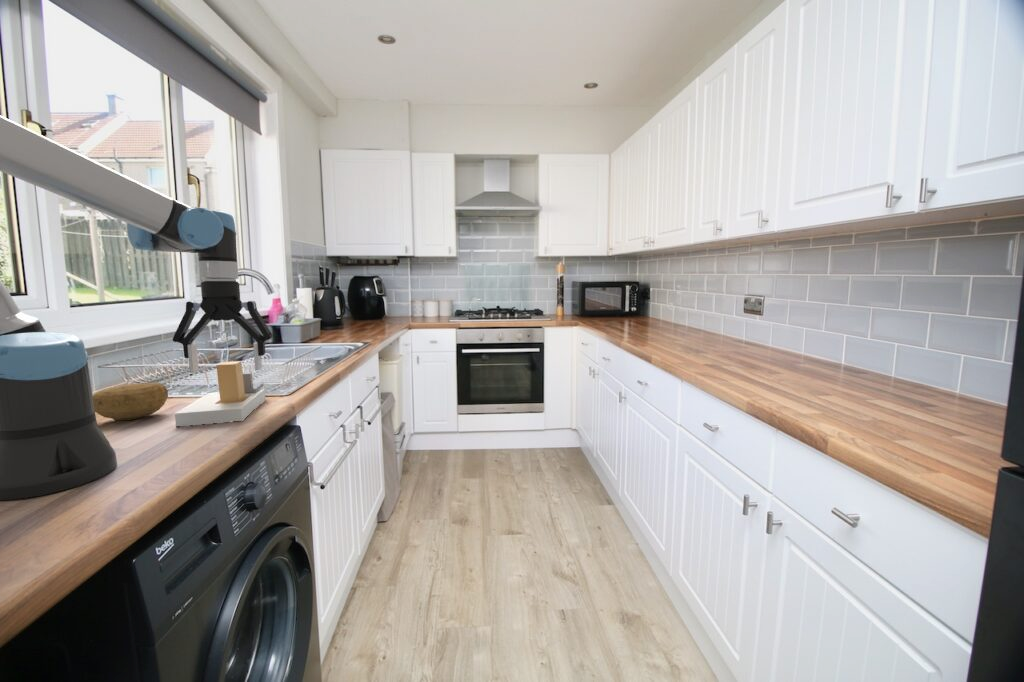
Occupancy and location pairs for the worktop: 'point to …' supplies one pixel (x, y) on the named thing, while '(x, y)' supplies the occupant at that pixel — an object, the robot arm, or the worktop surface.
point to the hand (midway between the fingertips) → (226, 370)
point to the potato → (130, 400)
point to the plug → (230, 382)
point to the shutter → (250, 383)
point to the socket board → (218, 409)
